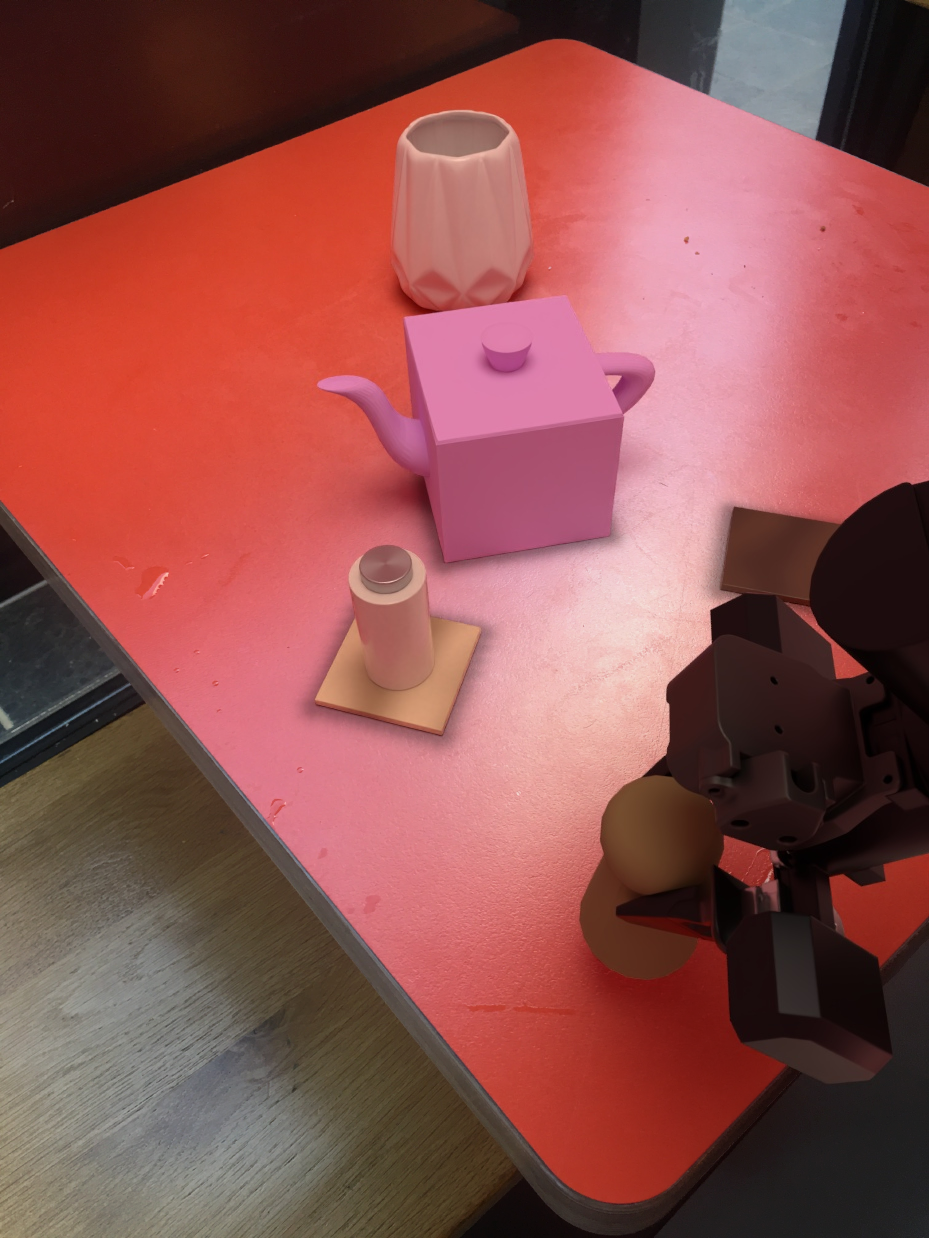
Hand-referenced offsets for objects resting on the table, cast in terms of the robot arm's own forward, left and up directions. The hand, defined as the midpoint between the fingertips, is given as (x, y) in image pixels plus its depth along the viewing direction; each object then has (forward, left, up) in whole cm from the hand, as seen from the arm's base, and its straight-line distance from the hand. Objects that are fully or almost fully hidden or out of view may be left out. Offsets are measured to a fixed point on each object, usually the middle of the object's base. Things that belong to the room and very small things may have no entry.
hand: (622, 858), depth 42 cm
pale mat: (+21, -10, -12) cm, 26 cm away
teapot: (+25, -29, -12) cm, 41 cm away
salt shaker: (+21, -10, -12) cm, 26 cm away
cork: (-1, -1, -7) cm, 7 cm away
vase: (+43, -53, -12) cm, 70 cm away
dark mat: (+2, -33, -12) cm, 36 cm away
